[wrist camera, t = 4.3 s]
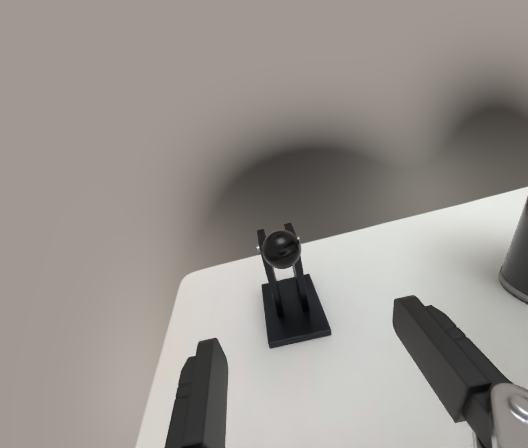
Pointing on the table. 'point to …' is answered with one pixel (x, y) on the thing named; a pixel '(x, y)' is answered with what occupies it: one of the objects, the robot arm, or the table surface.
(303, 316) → the lock bracket
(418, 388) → the table surface
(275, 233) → the lever
